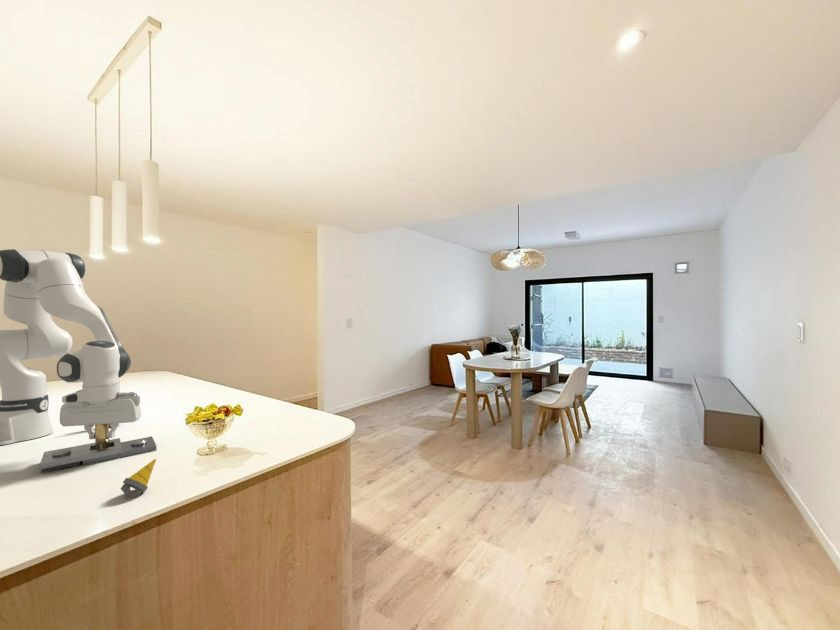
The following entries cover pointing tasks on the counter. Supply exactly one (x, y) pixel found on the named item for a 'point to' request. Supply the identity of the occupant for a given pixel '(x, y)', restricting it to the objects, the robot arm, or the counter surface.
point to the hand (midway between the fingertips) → (102, 437)
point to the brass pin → (101, 436)
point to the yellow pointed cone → (138, 481)
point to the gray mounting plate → (94, 453)
